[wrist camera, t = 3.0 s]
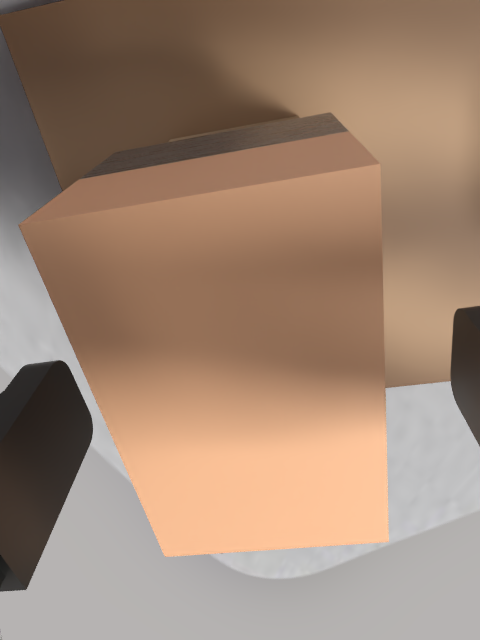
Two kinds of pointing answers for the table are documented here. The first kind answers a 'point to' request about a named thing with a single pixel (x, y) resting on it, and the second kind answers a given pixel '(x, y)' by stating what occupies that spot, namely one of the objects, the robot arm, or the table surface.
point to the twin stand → (289, 116)
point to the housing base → (219, 143)
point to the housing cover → (234, 339)
